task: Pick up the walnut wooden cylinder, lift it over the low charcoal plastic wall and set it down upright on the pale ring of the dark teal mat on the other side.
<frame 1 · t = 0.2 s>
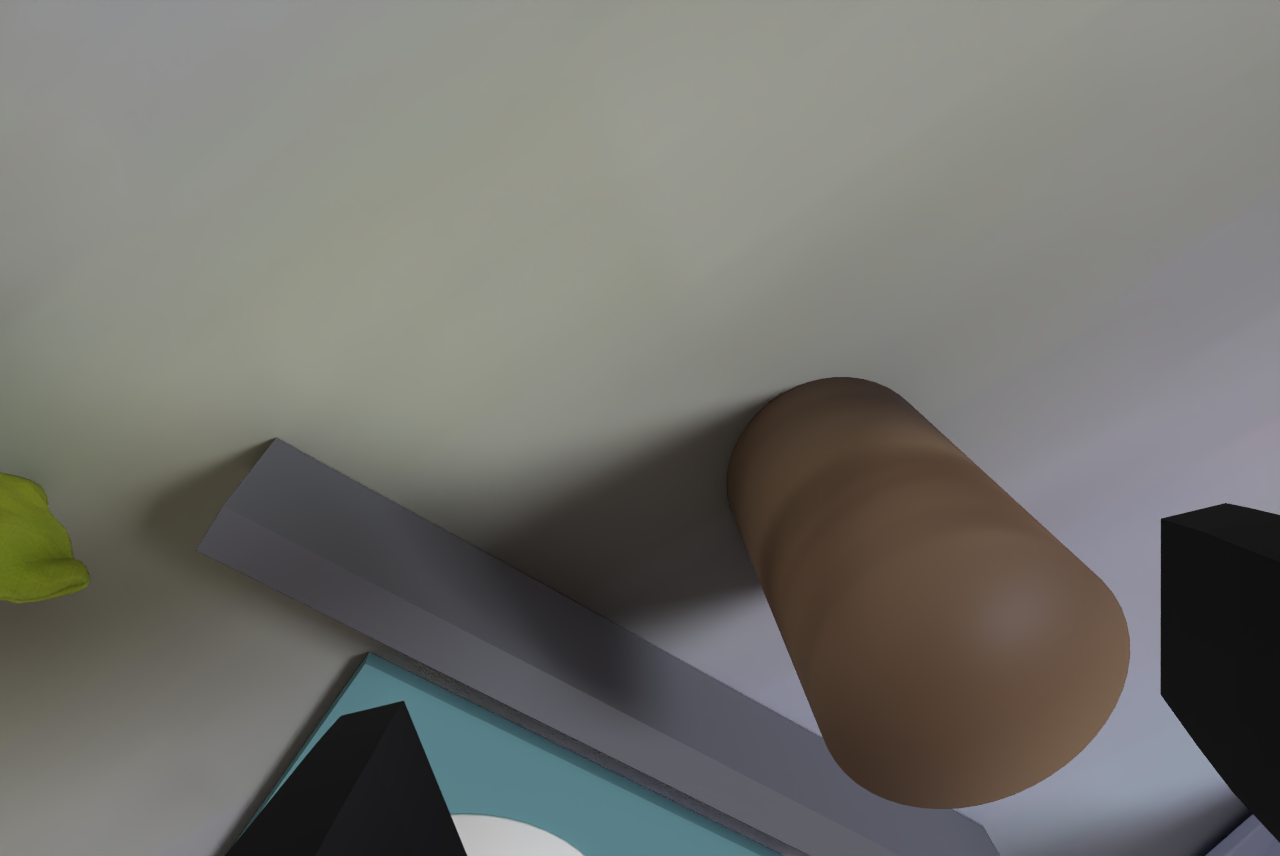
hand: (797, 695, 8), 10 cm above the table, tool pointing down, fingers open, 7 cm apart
low wall: (666, 674, 20), on the table
walnut cylinder: (830, 476, 19), on the table
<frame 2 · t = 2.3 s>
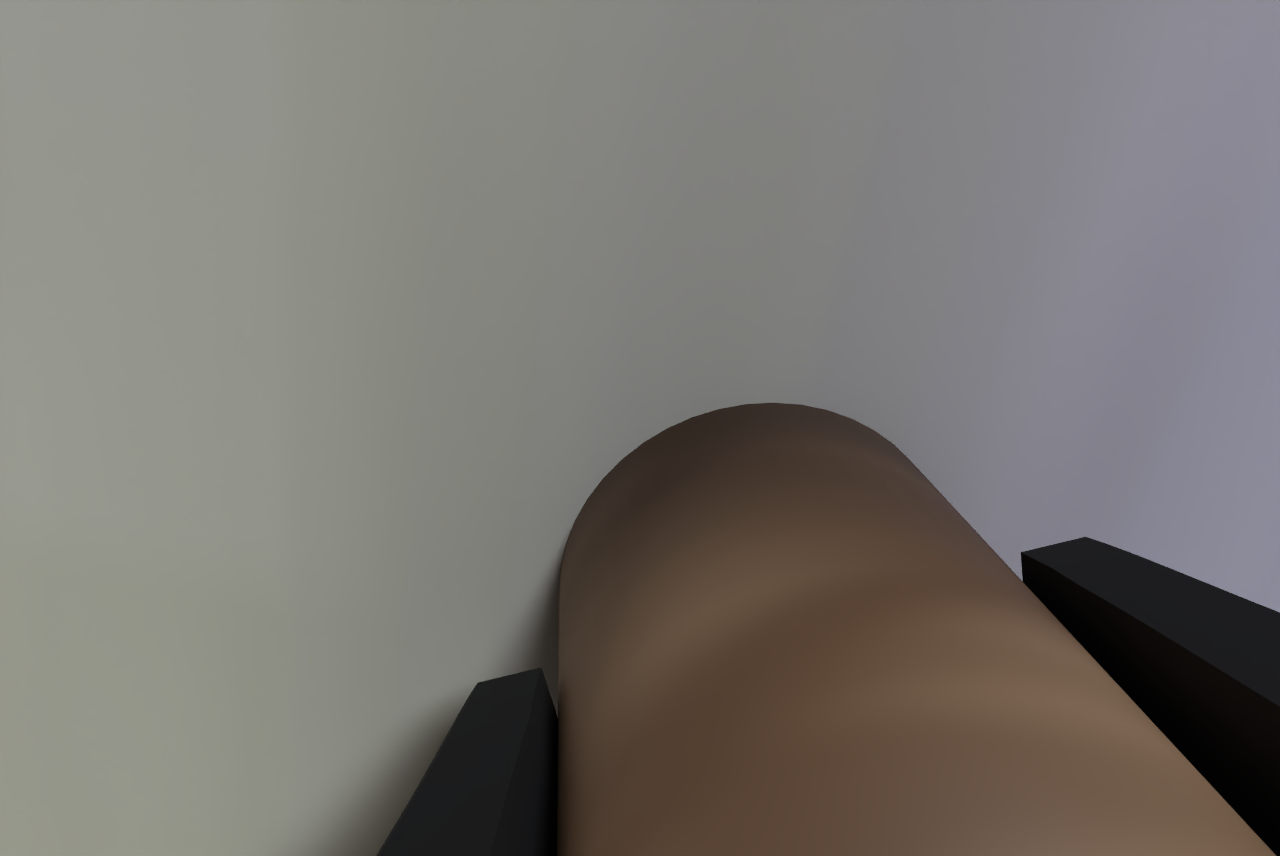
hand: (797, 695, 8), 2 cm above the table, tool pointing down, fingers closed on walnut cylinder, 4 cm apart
walnut cylinder: (755, 587, 10), on the table, touching gripper
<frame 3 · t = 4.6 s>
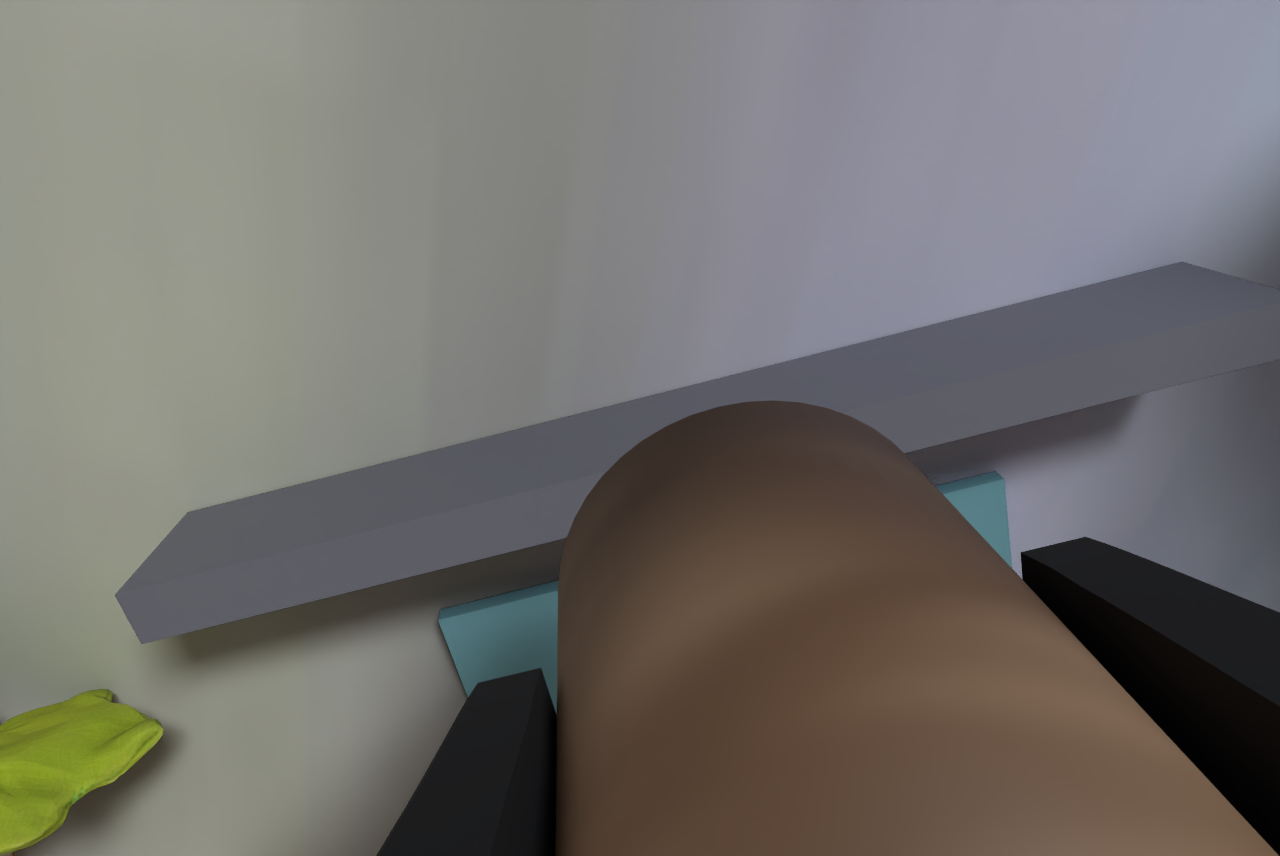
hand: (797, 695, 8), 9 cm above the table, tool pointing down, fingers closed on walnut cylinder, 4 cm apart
bird rattle: (15, 751, 19), on the table
low wall: (686, 411, 17), on the table
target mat: (767, 757, 21), on the table
walnut cylinder: (754, 585, 10), point 7 cm above the table, touching gripper
when the fingers open (3 cm above the table, at t = 7.3 s): walnut cylinder stays where it is, resting on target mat.
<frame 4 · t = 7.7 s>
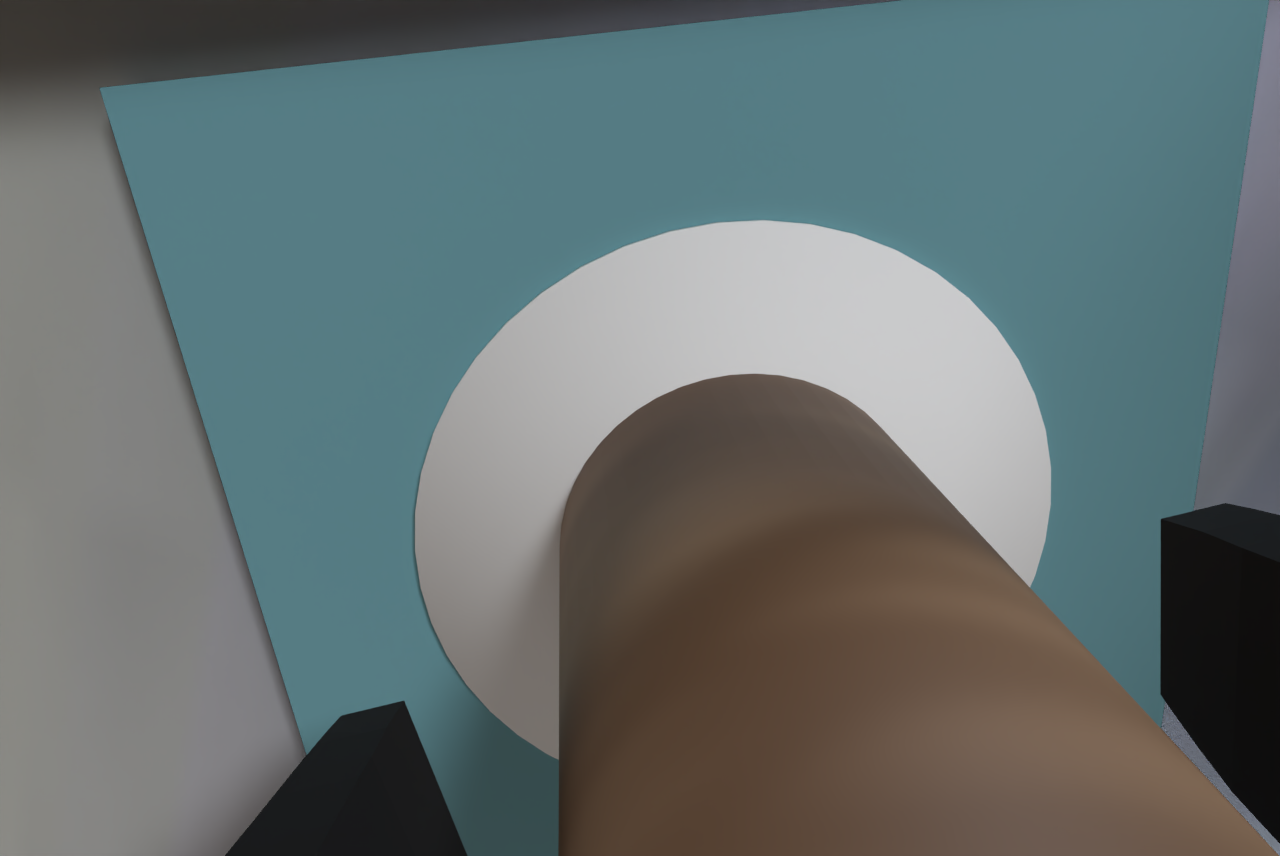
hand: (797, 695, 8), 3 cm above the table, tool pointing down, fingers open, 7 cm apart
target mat: (732, 527, 11), on the table
walnut cylinder: (739, 544, 11), point 1 cm above the table, touching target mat
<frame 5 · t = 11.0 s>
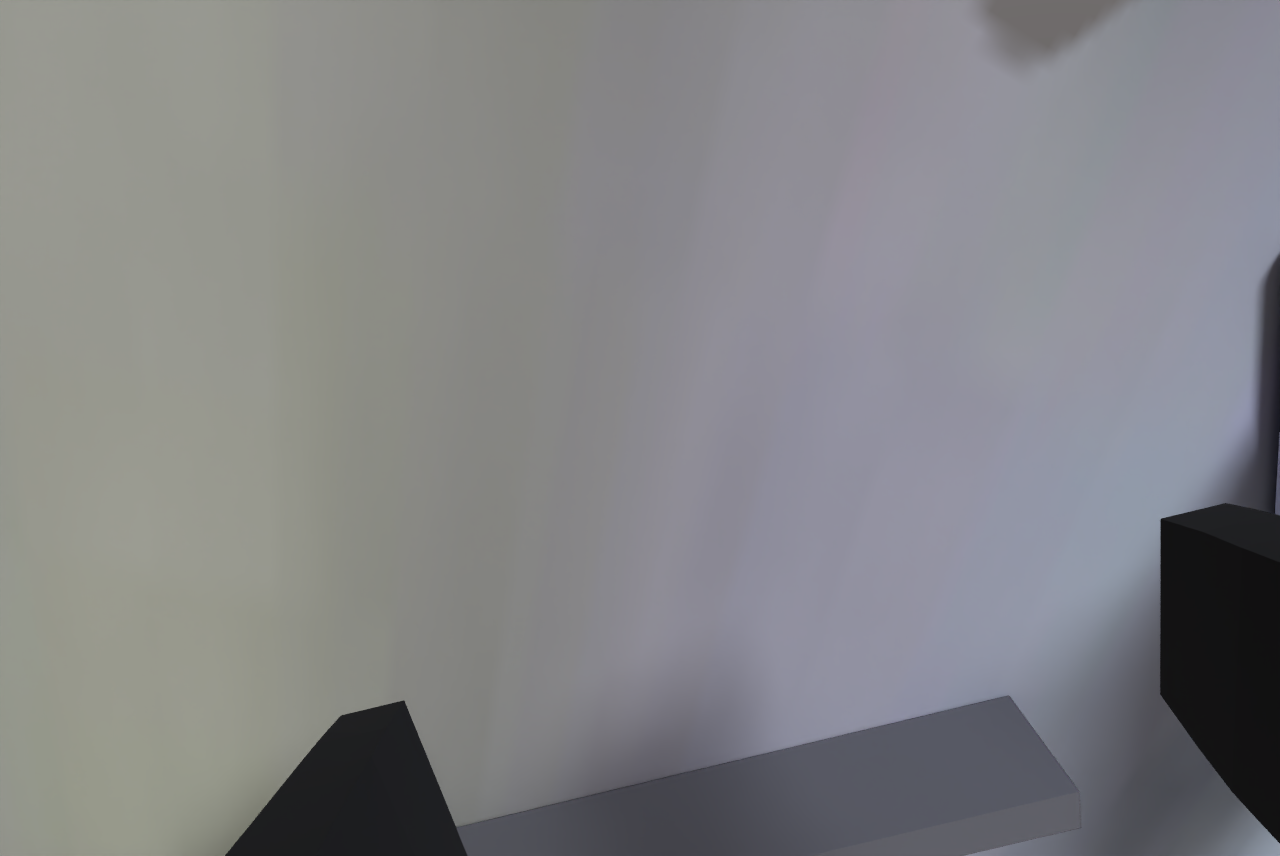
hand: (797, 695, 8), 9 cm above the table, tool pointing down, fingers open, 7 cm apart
low wall: (599, 810, 21), on the table
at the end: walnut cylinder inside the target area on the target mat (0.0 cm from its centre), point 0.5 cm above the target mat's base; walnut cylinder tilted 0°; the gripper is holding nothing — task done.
